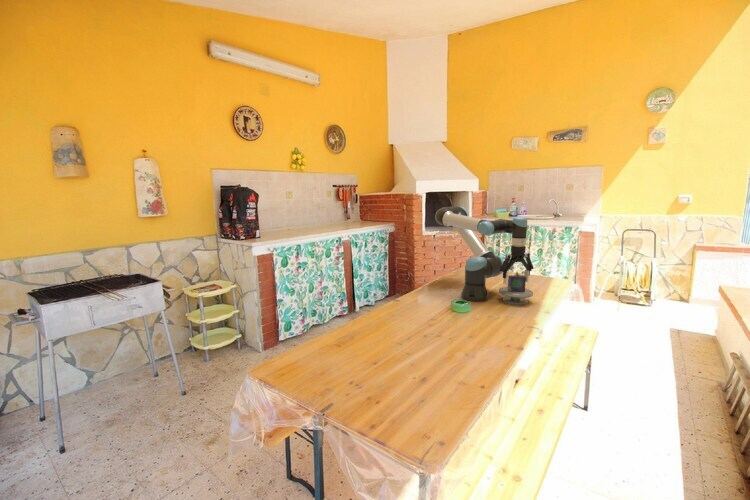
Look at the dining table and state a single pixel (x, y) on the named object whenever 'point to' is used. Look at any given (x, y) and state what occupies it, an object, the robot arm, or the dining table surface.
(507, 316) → the dining table surface
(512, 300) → the cake stand
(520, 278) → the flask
